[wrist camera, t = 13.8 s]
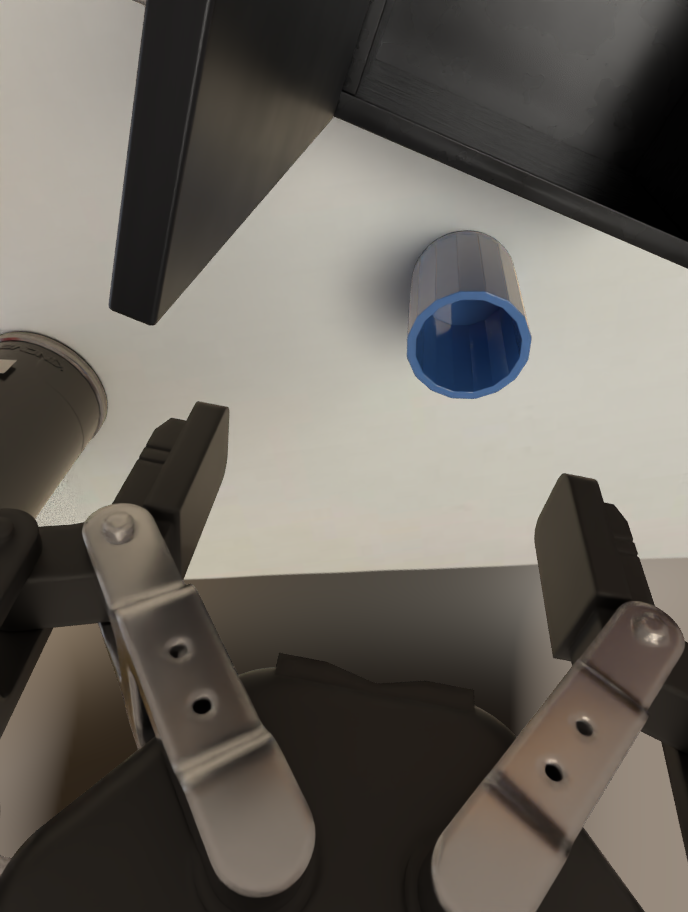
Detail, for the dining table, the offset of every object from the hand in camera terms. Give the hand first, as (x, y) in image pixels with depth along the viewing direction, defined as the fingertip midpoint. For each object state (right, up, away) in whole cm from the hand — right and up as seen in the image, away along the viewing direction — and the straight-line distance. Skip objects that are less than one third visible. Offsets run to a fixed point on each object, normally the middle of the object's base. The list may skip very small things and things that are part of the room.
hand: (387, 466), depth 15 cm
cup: (+6, +11, +22) cm, 25 cm away
